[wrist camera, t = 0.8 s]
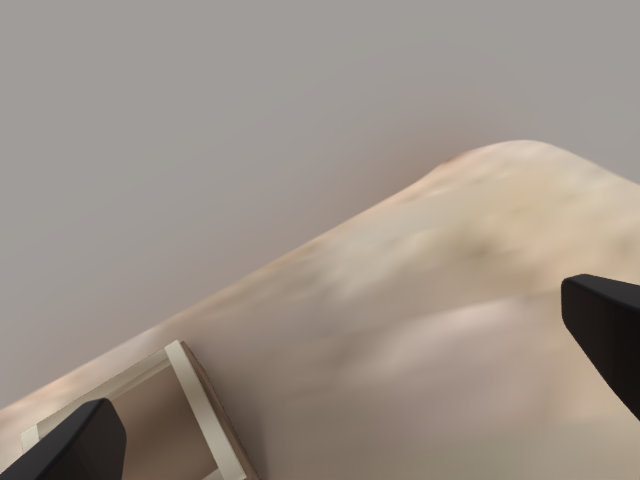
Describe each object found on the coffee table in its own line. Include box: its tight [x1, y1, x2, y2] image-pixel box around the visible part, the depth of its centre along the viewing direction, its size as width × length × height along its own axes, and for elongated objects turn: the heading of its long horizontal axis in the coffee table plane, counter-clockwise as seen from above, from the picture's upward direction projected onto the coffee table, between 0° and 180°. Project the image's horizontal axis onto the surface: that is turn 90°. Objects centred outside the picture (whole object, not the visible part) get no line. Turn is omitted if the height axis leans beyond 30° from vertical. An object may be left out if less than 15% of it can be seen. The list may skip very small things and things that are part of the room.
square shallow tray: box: [21, 339, 260, 480], centre depth 23 cm, size 9×9×4 cm
